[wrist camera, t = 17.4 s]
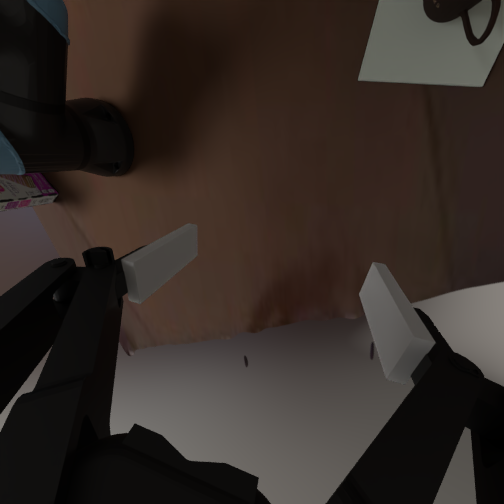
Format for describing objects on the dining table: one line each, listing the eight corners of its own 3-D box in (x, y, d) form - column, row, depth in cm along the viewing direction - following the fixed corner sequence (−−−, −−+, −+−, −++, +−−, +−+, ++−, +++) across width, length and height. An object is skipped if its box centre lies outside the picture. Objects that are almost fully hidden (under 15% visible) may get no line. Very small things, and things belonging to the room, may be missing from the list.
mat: (357, 80, 32) (358, 79, 31) (403, -90, 24) (404, -94, 24) (480, 87, 28) (482, 86, 28) (573, -106, 21) (578, -111, 21)
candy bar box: (60, 193, 57) (-25, 205, 43) (53, 203, 60) (-30, 218, 45) (29, 157, 55) (-72, 157, 41) (23, 168, 57) (-74, 172, 43)
